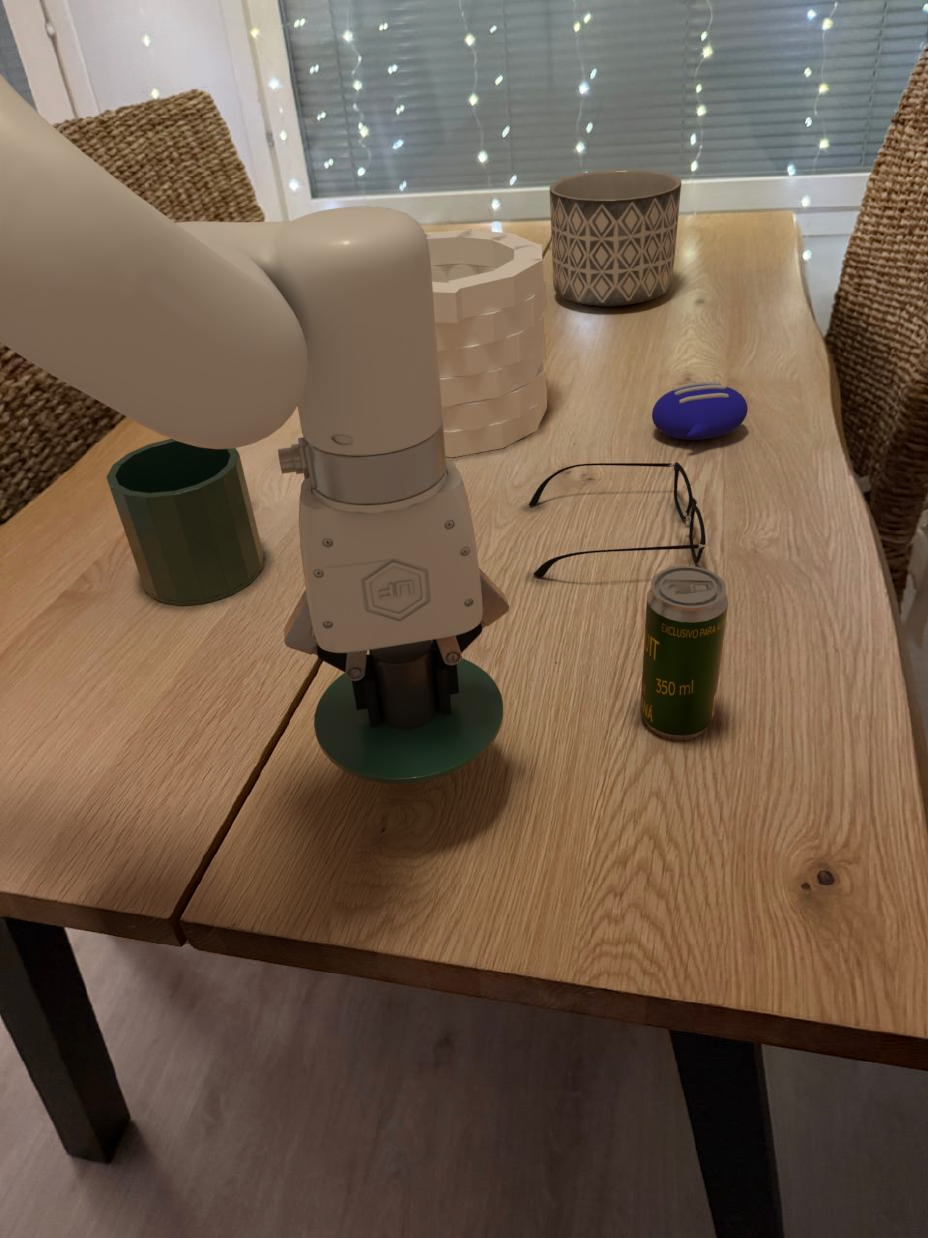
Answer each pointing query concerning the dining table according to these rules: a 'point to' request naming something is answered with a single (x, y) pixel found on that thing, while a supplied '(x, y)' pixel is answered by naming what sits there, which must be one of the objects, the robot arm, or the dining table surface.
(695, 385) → the decorative object
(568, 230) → the planter
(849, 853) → the dining table surface
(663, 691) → the green soda can
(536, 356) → the basket
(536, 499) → the eyeglasses
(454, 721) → the lid
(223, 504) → the canister
